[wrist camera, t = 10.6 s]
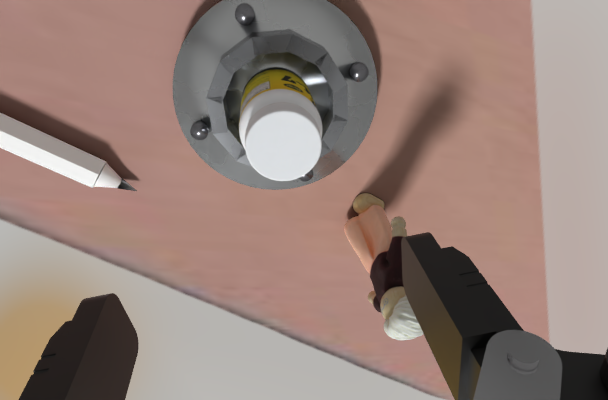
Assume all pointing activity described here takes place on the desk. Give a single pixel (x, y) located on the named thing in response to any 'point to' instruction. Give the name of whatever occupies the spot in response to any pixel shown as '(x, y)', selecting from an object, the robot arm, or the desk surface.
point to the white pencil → (57, 155)
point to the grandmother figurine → (383, 264)
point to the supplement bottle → (280, 124)
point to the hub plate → (263, 54)
